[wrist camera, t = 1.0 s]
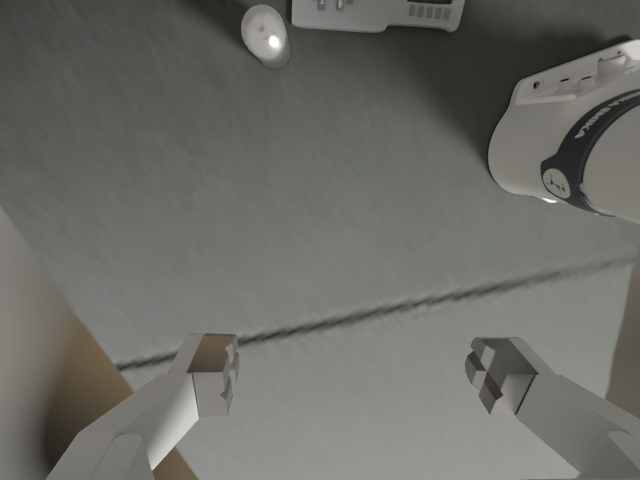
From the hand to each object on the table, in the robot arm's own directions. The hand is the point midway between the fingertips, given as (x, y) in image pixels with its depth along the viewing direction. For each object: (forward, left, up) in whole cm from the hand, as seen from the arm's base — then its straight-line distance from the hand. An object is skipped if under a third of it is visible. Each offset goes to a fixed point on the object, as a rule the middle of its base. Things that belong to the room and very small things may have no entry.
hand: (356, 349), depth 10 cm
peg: (-2, -15, -35) cm, 38 cm away
